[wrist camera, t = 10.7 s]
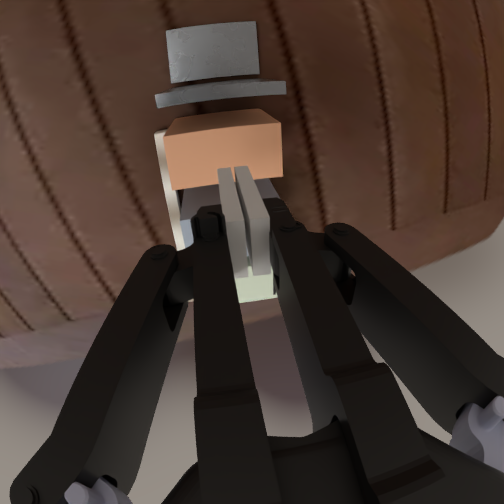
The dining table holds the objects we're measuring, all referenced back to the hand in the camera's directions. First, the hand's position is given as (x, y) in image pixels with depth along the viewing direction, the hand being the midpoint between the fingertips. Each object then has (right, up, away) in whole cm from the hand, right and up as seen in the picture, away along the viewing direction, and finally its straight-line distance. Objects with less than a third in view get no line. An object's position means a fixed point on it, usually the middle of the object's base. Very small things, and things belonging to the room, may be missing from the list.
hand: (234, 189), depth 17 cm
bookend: (-3, +16, +9) cm, 18 cm away
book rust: (-3, +9, +13) cm, 17 cm away
